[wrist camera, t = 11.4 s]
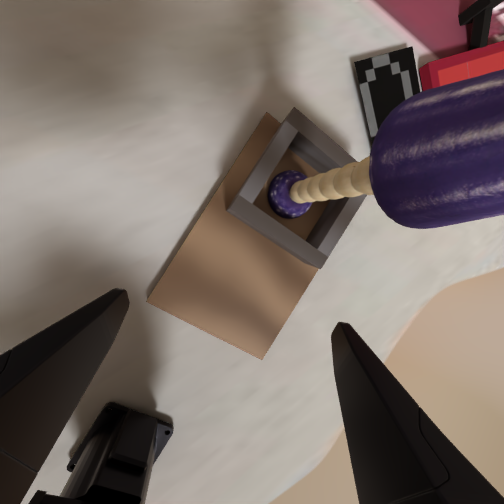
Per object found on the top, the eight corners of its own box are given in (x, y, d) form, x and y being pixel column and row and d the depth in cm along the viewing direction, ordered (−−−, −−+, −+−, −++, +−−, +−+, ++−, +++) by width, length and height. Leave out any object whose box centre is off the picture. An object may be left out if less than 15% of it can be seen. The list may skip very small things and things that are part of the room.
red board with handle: (342, 46, 21) (378, 204, 24) (364, 20, 18) (401, 201, 21) (563, -10, 26) (570, 125, 29) (606, -37, 23) (608, 116, 26)
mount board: (260, 356, 22) (271, 380, 19) (147, 299, 20) (135, 315, 16) (361, 194, 23) (389, 189, 19) (264, 115, 20) (278, 91, 16)
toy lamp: (323, 193, 21) (708, 99, 5) (296, 235, 21) (597, 273, 5) (284, 160, 20) (618, -93, 4) (255, 205, 20) (474, 130, 4)
